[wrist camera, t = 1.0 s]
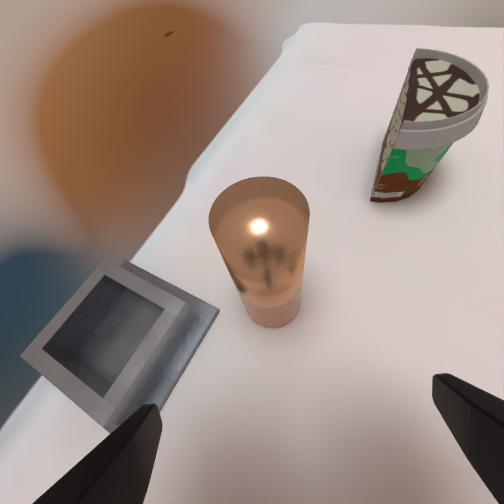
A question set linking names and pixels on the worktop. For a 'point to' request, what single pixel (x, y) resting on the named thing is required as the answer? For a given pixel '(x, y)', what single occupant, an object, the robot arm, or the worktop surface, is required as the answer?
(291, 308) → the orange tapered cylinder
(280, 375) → the worktop surface
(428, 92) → the food container
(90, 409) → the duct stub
